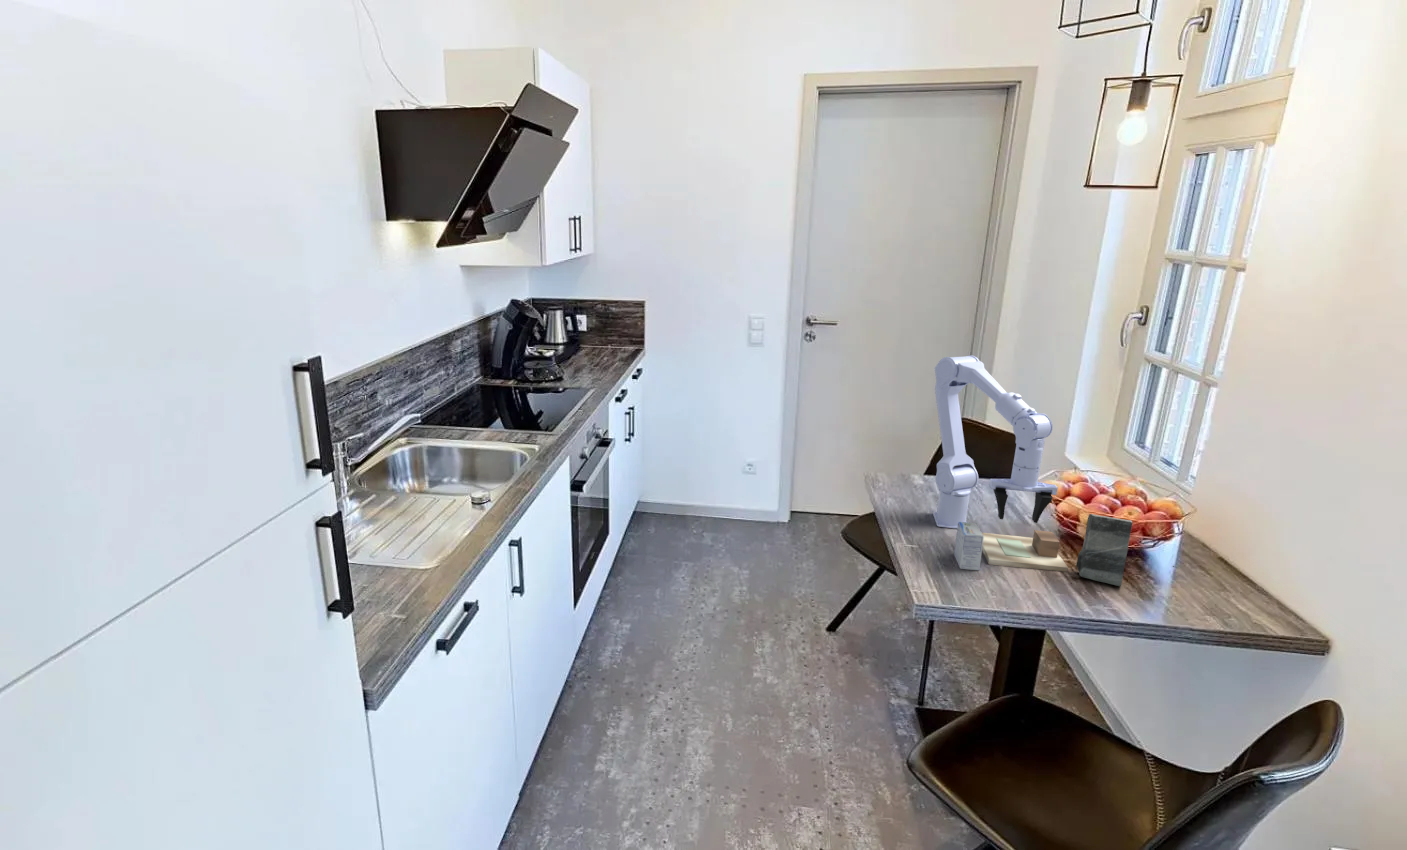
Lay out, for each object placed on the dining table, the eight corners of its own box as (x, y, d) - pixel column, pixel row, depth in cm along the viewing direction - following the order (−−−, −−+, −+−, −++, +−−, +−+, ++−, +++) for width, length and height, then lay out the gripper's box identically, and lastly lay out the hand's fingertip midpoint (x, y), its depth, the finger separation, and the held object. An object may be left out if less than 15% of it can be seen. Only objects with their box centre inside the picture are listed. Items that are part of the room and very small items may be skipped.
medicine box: (979, 571, 157) (984, 536, 154) (958, 569, 157) (963, 534, 155) (972, 556, 164) (977, 522, 162) (953, 554, 165) (957, 520, 163)
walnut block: (1031, 545, 168) (1034, 530, 167) (1049, 547, 167) (1052, 531, 166) (1038, 555, 162) (1041, 540, 161) (1056, 557, 161) (1059, 542, 160)
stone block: (1074, 573, 157) (1074, 576, 153) (1086, 511, 157) (1086, 512, 153) (1120, 584, 153) (1120, 587, 148) (1132, 520, 153) (1133, 521, 148)
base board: (975, 537, 175) (976, 531, 175) (1046, 544, 172) (1047, 538, 172) (988, 565, 160) (989, 558, 159) (1067, 573, 157) (1068, 566, 156)
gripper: (997, 467, 158) (989, 522, 161) (1065, 473, 155) (1055, 529, 159) (991, 458, 165) (982, 511, 168) (1056, 464, 162) (1046, 517, 166)
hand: (1017, 519), depth 164 cm, fingers open, 7 cm apart
